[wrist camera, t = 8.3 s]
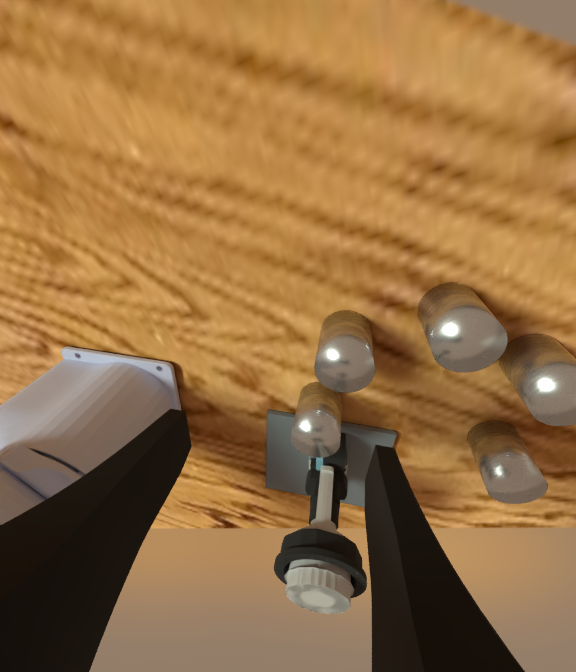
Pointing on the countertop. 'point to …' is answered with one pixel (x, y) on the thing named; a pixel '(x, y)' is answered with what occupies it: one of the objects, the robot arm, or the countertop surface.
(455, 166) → the countertop surface
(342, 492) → the push button
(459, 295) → the cylinder
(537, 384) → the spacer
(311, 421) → the cylinder
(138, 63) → the countertop surface
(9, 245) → the countertop surface
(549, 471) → the countertop surface
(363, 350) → the cylinder
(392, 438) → the mat
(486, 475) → the cylinder
